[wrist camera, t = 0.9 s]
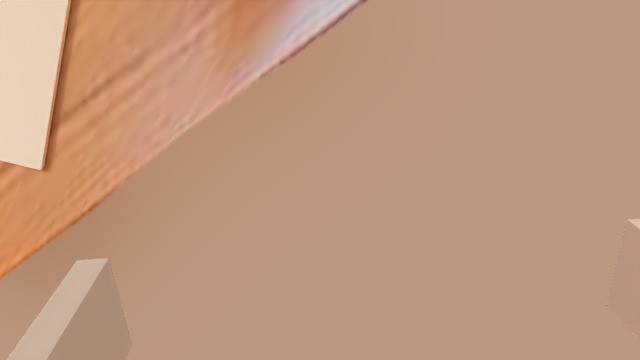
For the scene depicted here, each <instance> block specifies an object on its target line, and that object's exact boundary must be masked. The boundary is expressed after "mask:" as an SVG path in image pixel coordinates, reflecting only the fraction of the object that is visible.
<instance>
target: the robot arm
mask: <svg viewBox="0 0 640 360" xmlns="http://www.w3.org/2000/svg"><path fill="white" fill-rule="evenodd" d="M606 306H607V307H608V308H609V309H610V311H611V312H612V313H613V314H614V315H615V316H616V317H617V318H618V319H619V320H620V321H621V322H622V323H623V324H624V326H626V328H627V329H628V330H629V331H630V332H631V333H632V334H633V335H634V336H635V337H636V338H637V339H638V340H639V342H640V219H629V220H627V223H626V227H625V231H624V236H623V239H622V244H621V248H620V252H619V256H618V260H617V264H616V268H615V273H614V276H613V280H612V285H611V289H610V293H609V297H608V301H607V305H606ZM131 345H132V343H131V339H130V336H129V332H128V328H127V324H126V321H125V317H124V314H123V310H122V306H121V302H120V299H119V295H118V291H117V288H116V284H115V280H114V276H113V273H112V269H111V265H110V262H109V258H102V259H88V260H77V261H76V262H75V264H74V265H73V267H72V268H71V269H70V271H69V272H68V274H67V275H66V277H65V278H64V279H63V281H62V282H61V284H60V285H59V286H58V288H57V289H56V290H55V292H54V293H53V295H52V296H51V298H50V299H49V300H48V302H47V303H46V305H45V306H44V307H43V309H42V310H41V312H40V313H39V314H38V316H37V317H36V319H35V320H34V321H33V323H32V324H31V326H30V327H29V329H28V330H27V331H26V333H25V334H24V335H23V337H22V338H21V340H20V341H19V342H18V344H17V345H16V347H15V348H14V349H13V351H12V352H11V354H10V355H9V356H8V358H7V359H6V360H126V357H127V355H128V352H129V350H130V348H131Z"/></svg>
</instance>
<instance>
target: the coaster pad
mask: <svg viewBox="0 0 640 360" xmlns="http://www.w3.org/2000/svg"><path fill="white" fill-rule="evenodd" d="M70 6H71V0H0V161H4V162H8V163H12V164H17V165H21V166H25V167H29V168H33V169H37V170H41V169H42V168H43V166H44V165H45V158H46V152H47V146H48V140H49V134H50V128H51V122H52V116H53V110H54V103H55V97H56V91H57V85H58V79H59V73H60V67H61V61H62V55H63V49H64V42H65V36H66V30H67V24H68V18H69V12H70Z"/></svg>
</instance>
